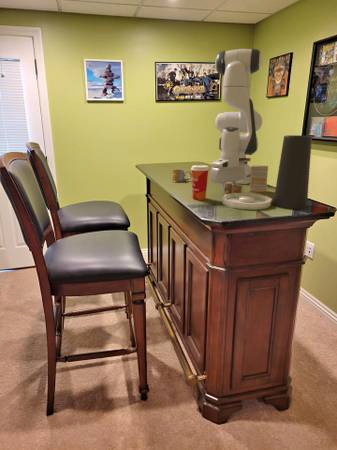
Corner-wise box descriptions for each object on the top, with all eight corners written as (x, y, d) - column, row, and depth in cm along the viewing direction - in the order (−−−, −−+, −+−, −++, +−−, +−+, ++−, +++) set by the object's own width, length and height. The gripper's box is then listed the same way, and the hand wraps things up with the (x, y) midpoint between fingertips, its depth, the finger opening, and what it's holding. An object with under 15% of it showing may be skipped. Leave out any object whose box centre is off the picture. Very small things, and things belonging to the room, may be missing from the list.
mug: (172, 182, 195) (172, 171, 193) (171, 180, 202) (171, 169, 200) (192, 182, 197) (193, 170, 195) (190, 180, 203) (191, 169, 201)
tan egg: (227, 192, 168) (228, 183, 167) (233, 194, 165) (234, 184, 164) (221, 193, 166) (222, 183, 165) (227, 195, 163) (228, 185, 161)
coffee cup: (188, 196, 160) (189, 165, 155) (206, 196, 160) (207, 164, 156) (191, 200, 152) (192, 167, 147) (209, 200, 153) (210, 167, 148)
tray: (244, 196, 161) (245, 191, 161) (281, 204, 145) (281, 199, 144) (212, 202, 150) (212, 196, 149) (248, 212, 134) (248, 206, 133)
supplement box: (266, 191, 172) (268, 165, 168) (265, 193, 168) (268, 166, 164) (249, 190, 175) (251, 164, 171) (248, 191, 171) (250, 166, 167)
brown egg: (236, 195, 164) (237, 184, 162) (242, 196, 161) (243, 186, 159) (230, 196, 162) (230, 185, 160) (236, 197, 158) (237, 187, 157)
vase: (288, 210, 136) (297, 137, 127) (266, 203, 148) (273, 135, 139) (313, 207, 141) (323, 136, 132) (290, 200, 153) (298, 134, 144)
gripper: (239, 160, 169) (237, 187, 173) (209, 163, 158) (208, 191, 162) (249, 161, 164) (247, 189, 168) (218, 164, 153) (217, 194, 157)
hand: (227, 190), depth 165 cm, fingers closed on tan egg, 4 cm apart
